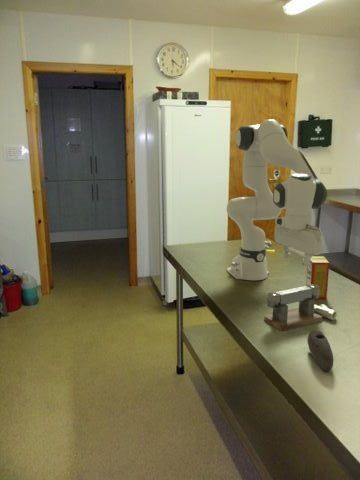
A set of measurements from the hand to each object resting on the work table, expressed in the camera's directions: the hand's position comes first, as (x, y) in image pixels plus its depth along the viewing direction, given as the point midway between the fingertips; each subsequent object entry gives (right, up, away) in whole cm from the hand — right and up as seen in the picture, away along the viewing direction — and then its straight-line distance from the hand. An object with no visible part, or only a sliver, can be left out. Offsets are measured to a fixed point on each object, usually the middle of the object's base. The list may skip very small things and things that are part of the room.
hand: (296, 261), depth 130 cm
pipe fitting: (+14, -21, +9) cm, 27 cm away
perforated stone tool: (+1, -28, -21) cm, 35 cm away
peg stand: (0, -22, +5) cm, 22 cm away
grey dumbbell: (0, -14, +4) cm, 15 cm away
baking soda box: (+17, -16, +28) cm, 37 cm away
